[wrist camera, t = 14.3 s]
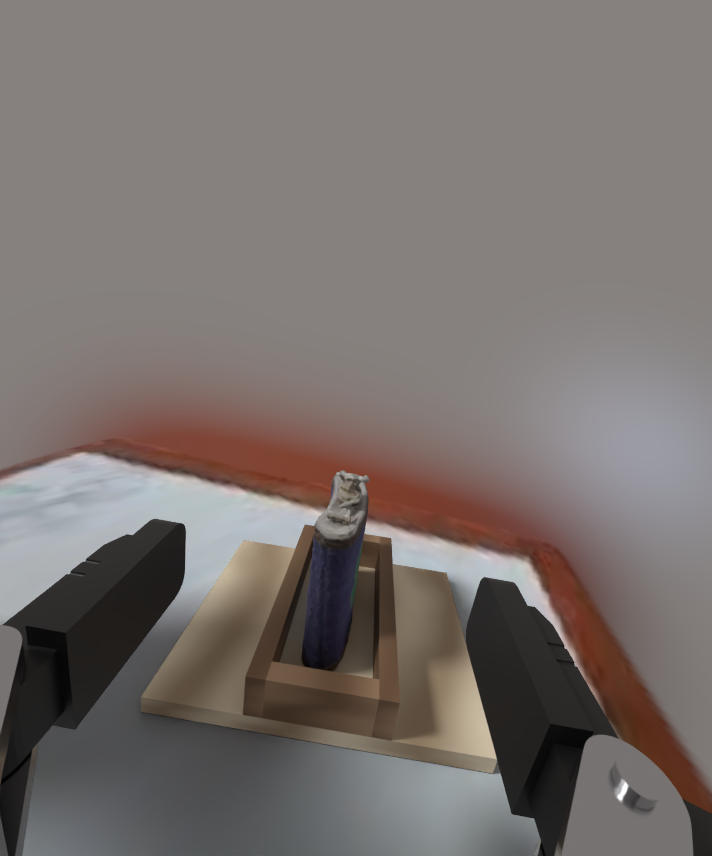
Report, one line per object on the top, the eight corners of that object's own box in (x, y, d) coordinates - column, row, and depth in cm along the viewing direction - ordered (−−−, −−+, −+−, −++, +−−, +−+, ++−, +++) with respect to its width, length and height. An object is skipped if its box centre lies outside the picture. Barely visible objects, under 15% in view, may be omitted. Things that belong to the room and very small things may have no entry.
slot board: (141, 711, 18) (139, 658, 17) (243, 550, 32) (245, 515, 31) (492, 773, 18) (510, 722, 17) (443, 582, 31) (452, 548, 30)
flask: (322, 569, 29) (338, 446, 26) (357, 575, 29) (377, 452, 26) (293, 673, 20) (313, 505, 17) (344, 683, 20) (373, 515, 17)
